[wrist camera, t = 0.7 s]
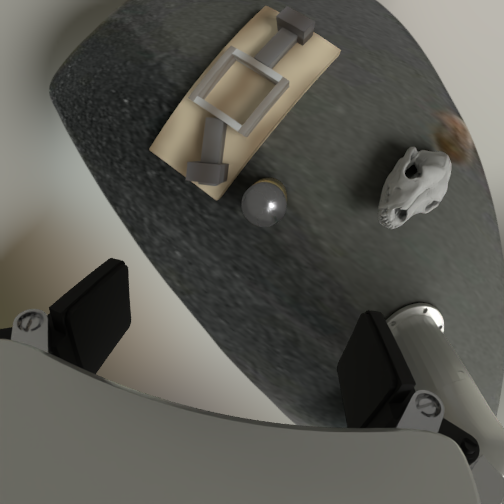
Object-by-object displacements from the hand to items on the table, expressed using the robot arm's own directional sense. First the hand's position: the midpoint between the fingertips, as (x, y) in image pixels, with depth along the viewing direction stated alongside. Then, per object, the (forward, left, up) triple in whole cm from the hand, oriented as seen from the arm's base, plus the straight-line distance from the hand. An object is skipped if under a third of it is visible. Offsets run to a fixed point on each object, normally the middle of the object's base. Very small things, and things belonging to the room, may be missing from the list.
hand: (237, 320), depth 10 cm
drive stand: (+11, -9, -25) cm, 28 cm away
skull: (-11, -14, -25) cm, 31 cm away
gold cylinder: (+1, -1, -25) cm, 25 cm away
